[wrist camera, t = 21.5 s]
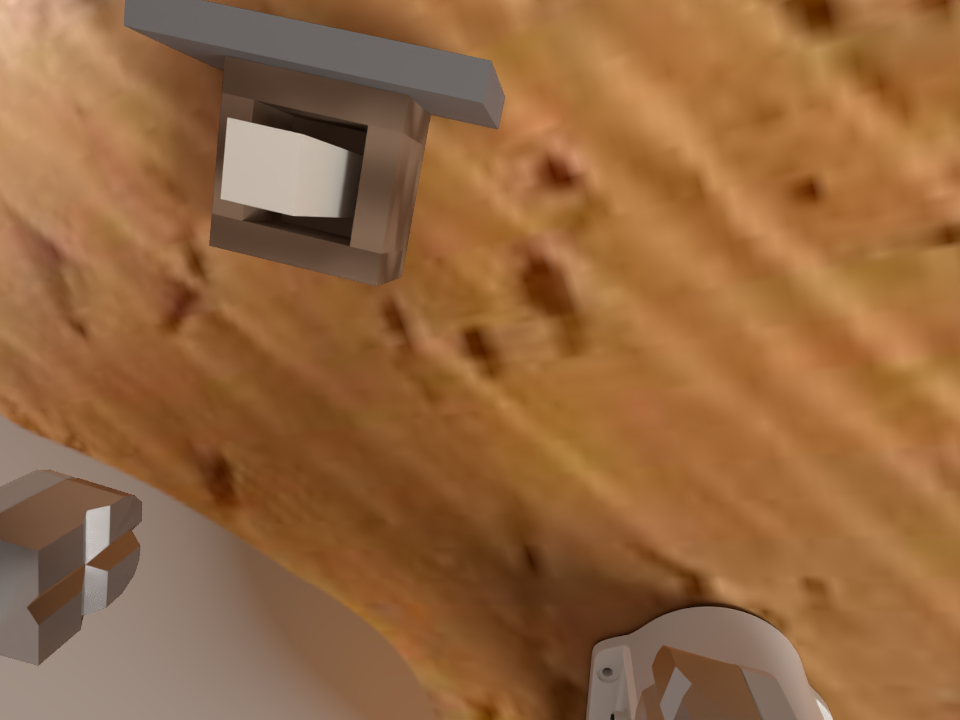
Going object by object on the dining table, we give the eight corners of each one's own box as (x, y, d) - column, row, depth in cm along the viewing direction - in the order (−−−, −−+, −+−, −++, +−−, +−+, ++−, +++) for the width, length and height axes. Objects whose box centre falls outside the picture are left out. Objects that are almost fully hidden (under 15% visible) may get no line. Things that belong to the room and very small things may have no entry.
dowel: (369, 158, 36) (302, 134, 27) (359, 218, 37) (293, 215, 28) (313, 145, 37) (227, 117, 27) (305, 205, 38) (220, 198, 28)
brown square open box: (401, 276, 39) (375, 285, 33) (259, 242, 40) (209, 245, 34) (431, 115, 36) (407, 94, 30) (276, 81, 37) (225, 55, 31)
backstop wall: (497, 129, 35) (482, 102, 28) (213, 67, 37) (124, 25, 29) (505, 96, 35) (491, 60, 27) (216, 35, 36) (125, -16, 29)
